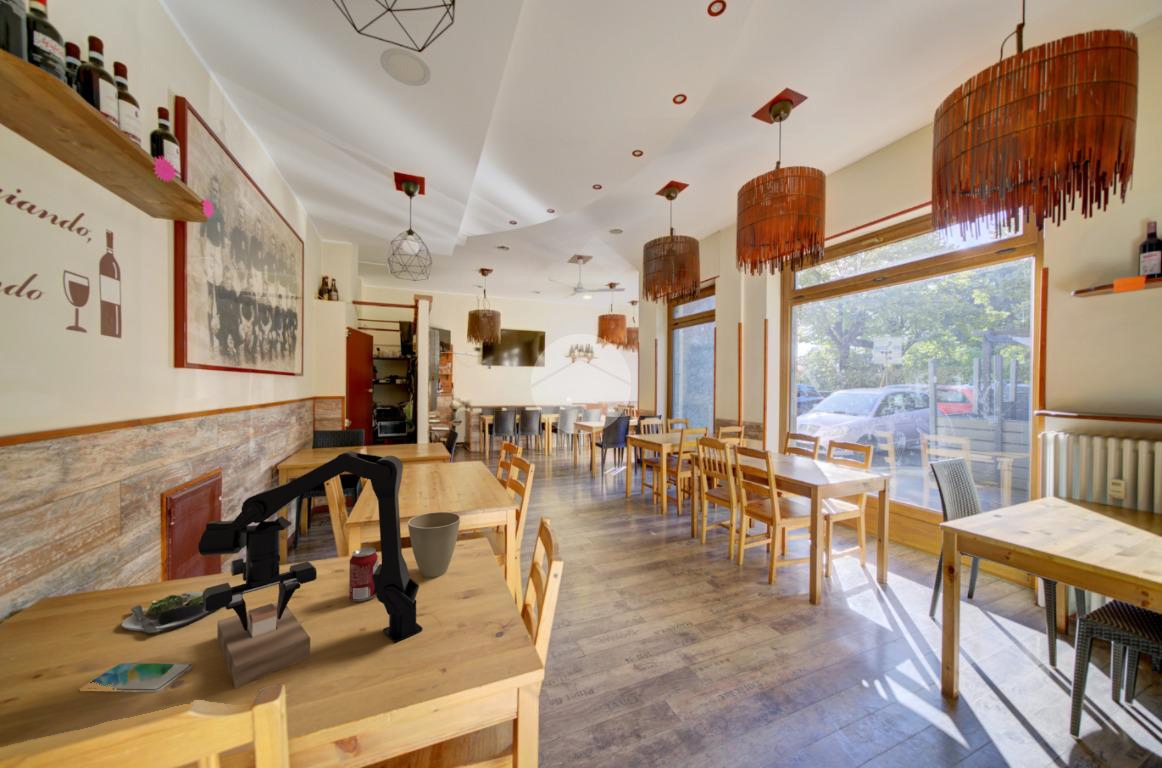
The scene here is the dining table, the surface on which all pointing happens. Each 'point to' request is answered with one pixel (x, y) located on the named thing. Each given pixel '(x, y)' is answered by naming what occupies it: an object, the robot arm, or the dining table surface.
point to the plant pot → (433, 541)
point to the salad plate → (168, 613)
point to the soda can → (362, 574)
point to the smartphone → (141, 676)
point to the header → (261, 647)
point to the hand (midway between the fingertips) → (262, 624)
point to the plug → (262, 620)
